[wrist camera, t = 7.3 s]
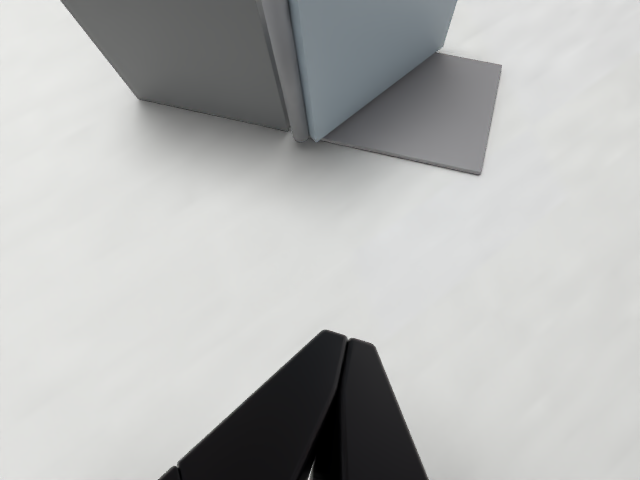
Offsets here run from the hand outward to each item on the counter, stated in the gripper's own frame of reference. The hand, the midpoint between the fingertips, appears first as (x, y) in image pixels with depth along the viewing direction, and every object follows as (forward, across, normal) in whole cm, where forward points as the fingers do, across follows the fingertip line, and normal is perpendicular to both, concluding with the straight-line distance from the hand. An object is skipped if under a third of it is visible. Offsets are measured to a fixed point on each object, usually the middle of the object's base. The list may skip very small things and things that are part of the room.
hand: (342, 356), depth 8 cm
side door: (+18, +2, 0) cm, 18 cm away
